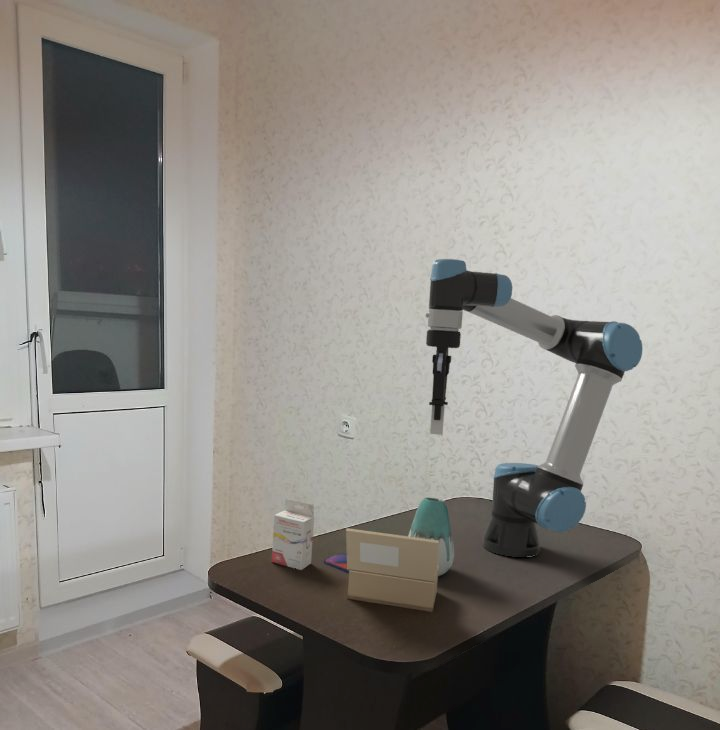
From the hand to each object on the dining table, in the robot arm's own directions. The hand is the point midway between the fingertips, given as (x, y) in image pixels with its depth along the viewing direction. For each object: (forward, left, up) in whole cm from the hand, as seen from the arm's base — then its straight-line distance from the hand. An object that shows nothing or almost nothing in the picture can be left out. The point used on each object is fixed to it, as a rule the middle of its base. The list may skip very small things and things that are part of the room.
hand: (436, 433), depth 143 cm
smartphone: (+17, -2, -35) cm, 39 cm away
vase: (0, -6, -35) cm, 35 cm away
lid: (+6, +16, -23) cm, 29 cm away
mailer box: (+6, +10, -34) cm, 36 cm away
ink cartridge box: (+32, +1, -35) cm, 47 cm away
